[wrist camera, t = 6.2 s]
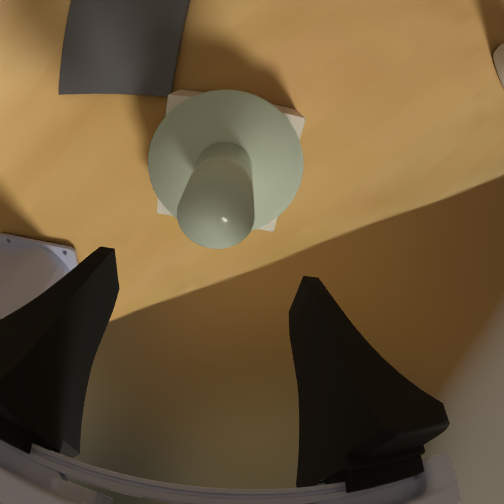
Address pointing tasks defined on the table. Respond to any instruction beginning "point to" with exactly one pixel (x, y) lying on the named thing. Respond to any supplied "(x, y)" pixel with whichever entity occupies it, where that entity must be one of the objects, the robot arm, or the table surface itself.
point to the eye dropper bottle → (499, 62)
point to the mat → (122, 46)
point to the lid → (225, 165)
